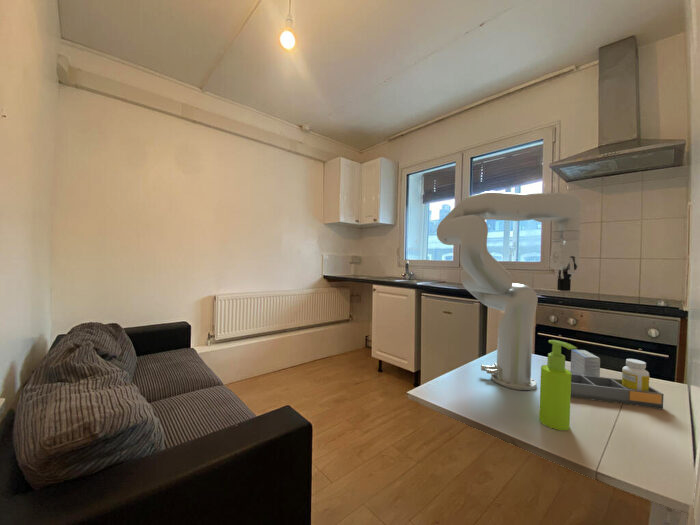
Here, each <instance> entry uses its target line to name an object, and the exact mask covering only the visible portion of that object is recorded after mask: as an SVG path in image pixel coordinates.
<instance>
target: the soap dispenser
mask: <svg viewBox="0 0 700 525" xmlns="http://www.w3.org/2000/svg"><path fill="white" fill-rule="evenodd" d="M547 342H548V343H549V344H551V345H552V346H551V352H548V353H547V364H542V365H541V366H540V383H539V384H540V385H539V386H540V388H539V414H538V418H539V421H541V422H542V424H543V425H544V424H545V425H544V426H546V427H547V426H549V427H548V428H550V427H551V428H550V429H552V428H554V429H553V430H555V429H558V430H557V431H560V430H563V432H564V430H566V431H568V430H570V426H571V424H570V420H571V418H570V417H571V398H572V397H571V370H569V369H567V368H566V355H564V354H562V347H563V348H566V349H567V350H569V351H571V350H578V347H577V346H575V345H573V344H571V343H568V342H565V341H561V340H556V339H549V340H548V341H547ZM541 422H540V423H541Z"/></svg>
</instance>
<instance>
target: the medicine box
mask: <svg viewBox="0 0 700 525" xmlns="http://www.w3.org/2000/svg"><path fill="white" fill-rule="evenodd" d="M570 351H571V352H570V372H571V374H579V375H587V376H596V377H601V374H600V373H601V358H600V357H599V356H596V355H595V354H593V353H592V352H589V351H588V350H585V349H572V350H570Z"/></svg>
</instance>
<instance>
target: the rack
mask: <svg viewBox="0 0 700 525" xmlns="http://www.w3.org/2000/svg"><path fill="white" fill-rule="evenodd" d="M575 397H577V398H576V399H583V398H584V399H583V400H590V399H594V400H593V401H598V400H601V401H600V402H606V401H607V402H608V403H613V402H617V403H616V404H621V403H623V405H629V404H632V405H631V406H636V405H638V407H644V406H645V408H652V409H658V410H659V409H660V410H663V409H664V393H662V392H660V391H658V390H657V389H656V388H653V387H652V386H650V385H649V392H647V391H639V390H631V389H627V388H626V387H624V386H622V378H614V377H612V378H611V377H605V376H600V377H596V376H587V375H579V374H571V398H575ZM607 402H606V403H607Z"/></svg>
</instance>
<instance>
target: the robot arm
mask: <svg viewBox="0 0 700 525" xmlns="http://www.w3.org/2000/svg"><path fill="white" fill-rule="evenodd" d="M582 211H583V201H582V199H580V197H579V196H577V195H575V194H573V193H567V192H564V193H563V192H542V193H538V192H537V193H534V192H532V193H531V192H529V193H518V192H517V193H516V192H506V191H496V190H490V191H484V192H480V193H477V194H472V195H469V196H466V197H465V198H463V199H462V200H461V201H459V203H458V204H457V205H455V207H453V208H452V209H451V211H450V212H448V214H447V215H446V216H444V218H443V219H442V220H441V221H440V222H439V223H438V225H437V229H436V236H437V240H439V242H440V243H442V244H444V245H446V246H457V245H458V246H459V245H460V254H459V262H460V265H461V267H462V268H463V269H462V270H461V272H460V281H461V284H462V286H463V287H464V289H465V290H466V291H467V292H469V293H470V294H471V295H472V297H474V298H476V299H477V301H479V302H480V303H481V304H483V305H484V306H486V307H488V308H489V309H490V308H491V309H494V310H498V311H502V312H504V313H503V315H502V316H501V318H500V319H499V321H498V323H497V324H498V325H497V349H496V351H497V352H496V362H494V363H493V364H491V365H487V364H481V365H480V371H483V372H486V374H489V375H491V376H490V377H491V380H493V381H494V383H497V384H498V385H500V386H503V387H506V388H508V389H512V390H518V391H519V390H520V391H532V390H534V389H536V388H537V386H538V385H537V381H536V380H535V379H534V378H533V377H532V355H533V353H532V350H533V329H534V328H533V326H534V319H535V318H534V317H535V313H536V309H537V306H538V301H539V300H538V299H539V298H538V295H537V292H536V291H535V290H534V288H532V287H530V286H529V285H527V284H523V283H522V284H521V283H517V282H515V283H514V282H513V281H514V280H513V277H512V275H511V273H510V272H509V271H508V270H507V269H506V268H505V267H504V266H503V265H502V264H501V263H500V261H498V260H497V259H496V258H494V257H493V255H492V254H491V253H490V252H489V250H488V236H489V235H488V233H489V227H488V224H487V222H486V221H487V220H489V221H490V220H492V221H495V220H496V221H512V222H519V221H535V222H538V223H547V222H552V232H551V237H552V238H551V242H552V246H551V252H550V259H549V260H550V262H549V268H550V269H551V270H554V271H555V273H556V278H557V288H556V289H557V290H558V291H561V292H563V291H564V292H570V291H571V283H572V282H571V280H572V275H574V274H575V271H577V270H578V269H579V265H580V264H579V263H580V250H579V248H580V247H579V242H580V239H581V219H582V218H581V216H582V214H581V213H582Z"/></svg>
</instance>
